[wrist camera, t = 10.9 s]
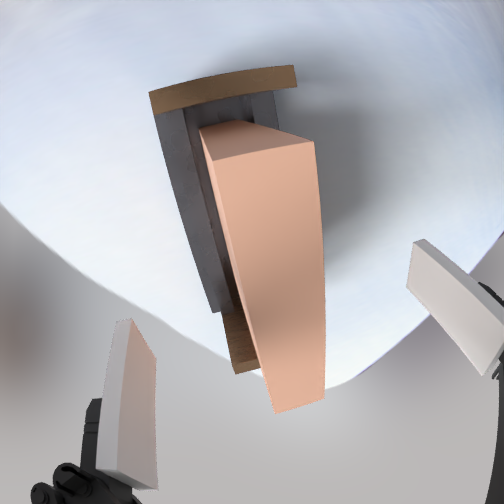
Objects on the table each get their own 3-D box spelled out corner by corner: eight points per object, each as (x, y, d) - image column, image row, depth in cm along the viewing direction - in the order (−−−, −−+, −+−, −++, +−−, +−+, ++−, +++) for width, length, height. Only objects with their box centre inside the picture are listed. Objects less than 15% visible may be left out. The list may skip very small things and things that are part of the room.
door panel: (238, 119, 20) (313, 141, 8) (266, 273, 27) (324, 398, 15) (198, 128, 20) (212, 161, 8) (235, 281, 27) (275, 414, 15)
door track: (266, 77, 20) (311, 63, 12) (296, 284, 30) (331, 345, 22) (152, 102, 19) (128, 98, 11) (211, 307, 29) (223, 377, 21)
